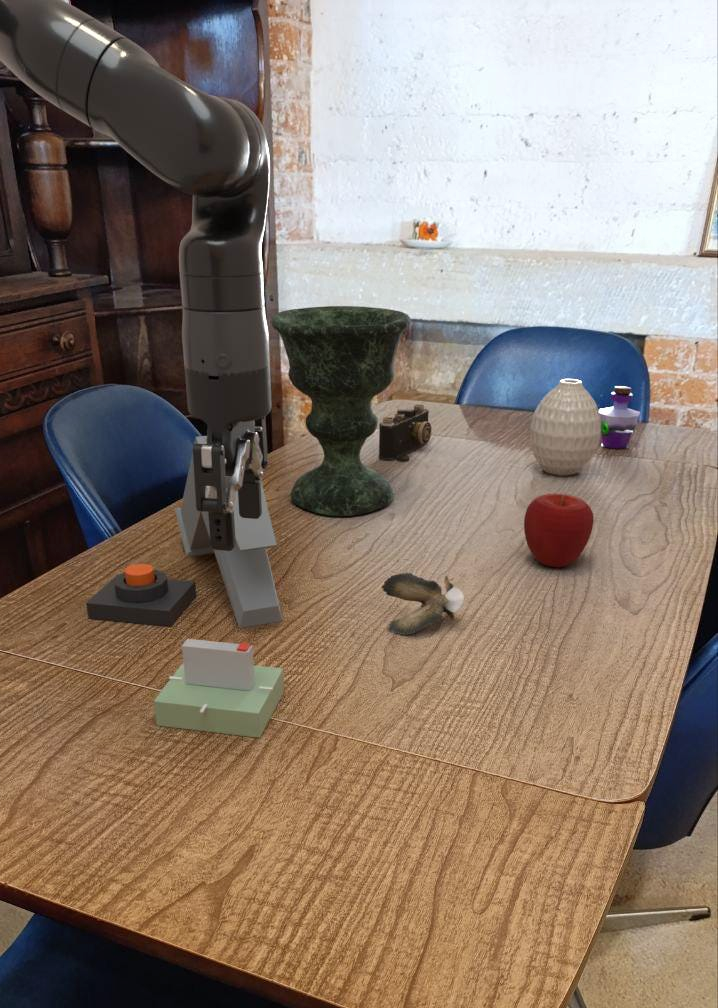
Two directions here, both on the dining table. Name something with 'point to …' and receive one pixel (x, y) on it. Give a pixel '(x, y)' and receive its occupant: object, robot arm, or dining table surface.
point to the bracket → (235, 555)
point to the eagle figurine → (422, 601)
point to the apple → (557, 528)
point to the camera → (404, 433)
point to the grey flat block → (218, 664)
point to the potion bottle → (618, 420)
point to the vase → (565, 429)
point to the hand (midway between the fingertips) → (237, 532)
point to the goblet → (341, 398)
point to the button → (139, 575)
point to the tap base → (220, 704)
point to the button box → (142, 601)
